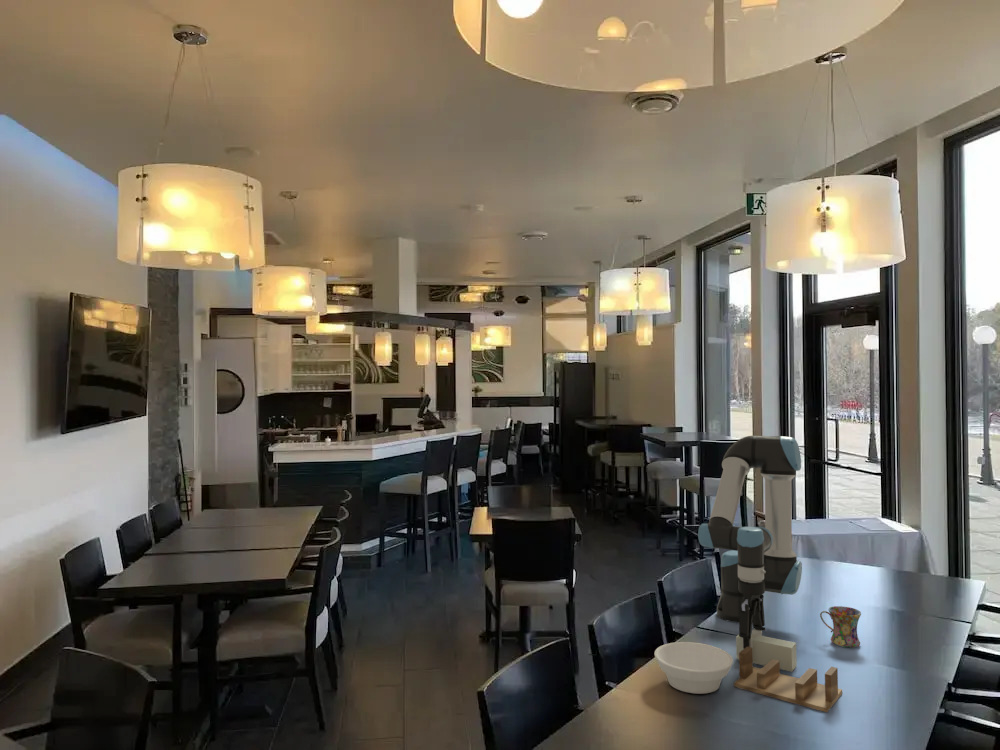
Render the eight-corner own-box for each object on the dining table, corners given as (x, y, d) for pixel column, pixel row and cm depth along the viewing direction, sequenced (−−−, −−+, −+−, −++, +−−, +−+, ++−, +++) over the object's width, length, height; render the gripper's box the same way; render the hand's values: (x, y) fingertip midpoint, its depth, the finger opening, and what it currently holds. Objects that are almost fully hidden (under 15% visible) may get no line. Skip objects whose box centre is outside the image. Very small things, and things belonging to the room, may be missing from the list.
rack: (733, 686, 189) (733, 657, 189) (752, 670, 199) (752, 642, 199) (827, 712, 173) (826, 680, 173) (842, 693, 184) (841, 663, 184)
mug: (864, 643, 219) (864, 609, 219) (858, 652, 212) (857, 617, 212) (824, 635, 226) (823, 602, 227) (816, 643, 219) (816, 610, 219)
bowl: (722, 709, 176) (722, 677, 176) (643, 691, 187) (643, 661, 187) (741, 679, 193) (741, 650, 194) (668, 664, 205) (668, 636, 205)
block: (736, 659, 208) (736, 636, 208) (741, 654, 212) (741, 631, 212) (792, 672, 198) (791, 648, 198) (796, 666, 202) (796, 642, 202)
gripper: (751, 589, 198) (752, 669, 197) (775, 574, 213) (776, 648, 213) (725, 584, 203) (727, 662, 202) (751, 570, 218) (752, 642, 217)
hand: (752, 655), depth 207 cm, fingers open, 7 cm apart
